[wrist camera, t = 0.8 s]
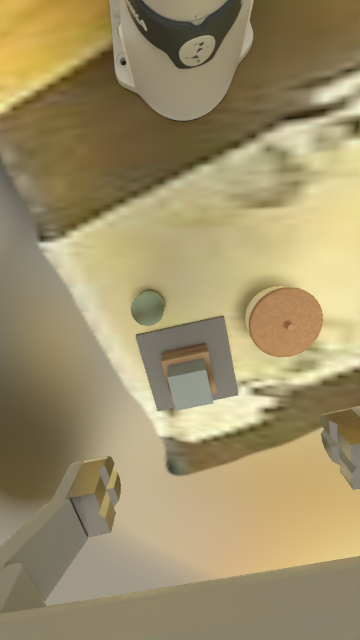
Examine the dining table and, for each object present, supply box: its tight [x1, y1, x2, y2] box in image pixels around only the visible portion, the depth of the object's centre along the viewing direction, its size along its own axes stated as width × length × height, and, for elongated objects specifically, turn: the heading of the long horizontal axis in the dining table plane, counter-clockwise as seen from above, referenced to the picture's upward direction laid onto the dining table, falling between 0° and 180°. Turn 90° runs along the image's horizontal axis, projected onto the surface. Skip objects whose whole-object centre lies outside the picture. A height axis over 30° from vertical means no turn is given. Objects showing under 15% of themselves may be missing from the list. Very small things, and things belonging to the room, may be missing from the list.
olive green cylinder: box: [131, 289, 165, 326], centre depth 41 cm, size 5×5×5 cm
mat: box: [136, 316, 238, 411], centre depth 47 cm, size 16×16×1 cm
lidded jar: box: [245, 286, 323, 357], centre depth 40 cm, size 11×11×9 cm
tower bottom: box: [161, 343, 217, 402], centre depth 44 cm, size 8×8×4 cm
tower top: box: [167, 358, 213, 410], centre depth 40 cm, size 6×6×4 cm
